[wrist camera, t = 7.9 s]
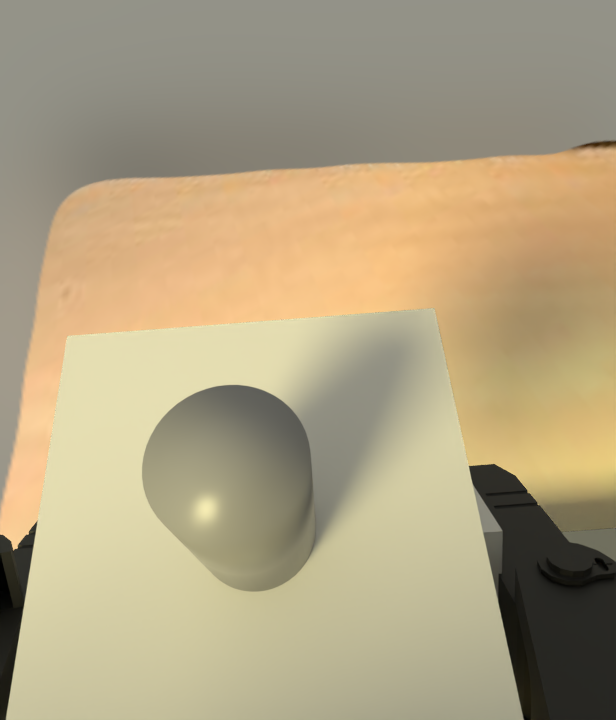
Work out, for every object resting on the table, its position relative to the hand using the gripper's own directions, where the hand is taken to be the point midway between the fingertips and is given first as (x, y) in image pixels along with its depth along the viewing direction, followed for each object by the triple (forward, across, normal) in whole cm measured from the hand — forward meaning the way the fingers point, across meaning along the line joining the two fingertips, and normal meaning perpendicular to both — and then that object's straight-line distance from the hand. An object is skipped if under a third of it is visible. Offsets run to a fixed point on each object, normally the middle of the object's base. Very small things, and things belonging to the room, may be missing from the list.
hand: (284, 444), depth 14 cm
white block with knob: (-1, 0, -5) cm, 5 cm away
